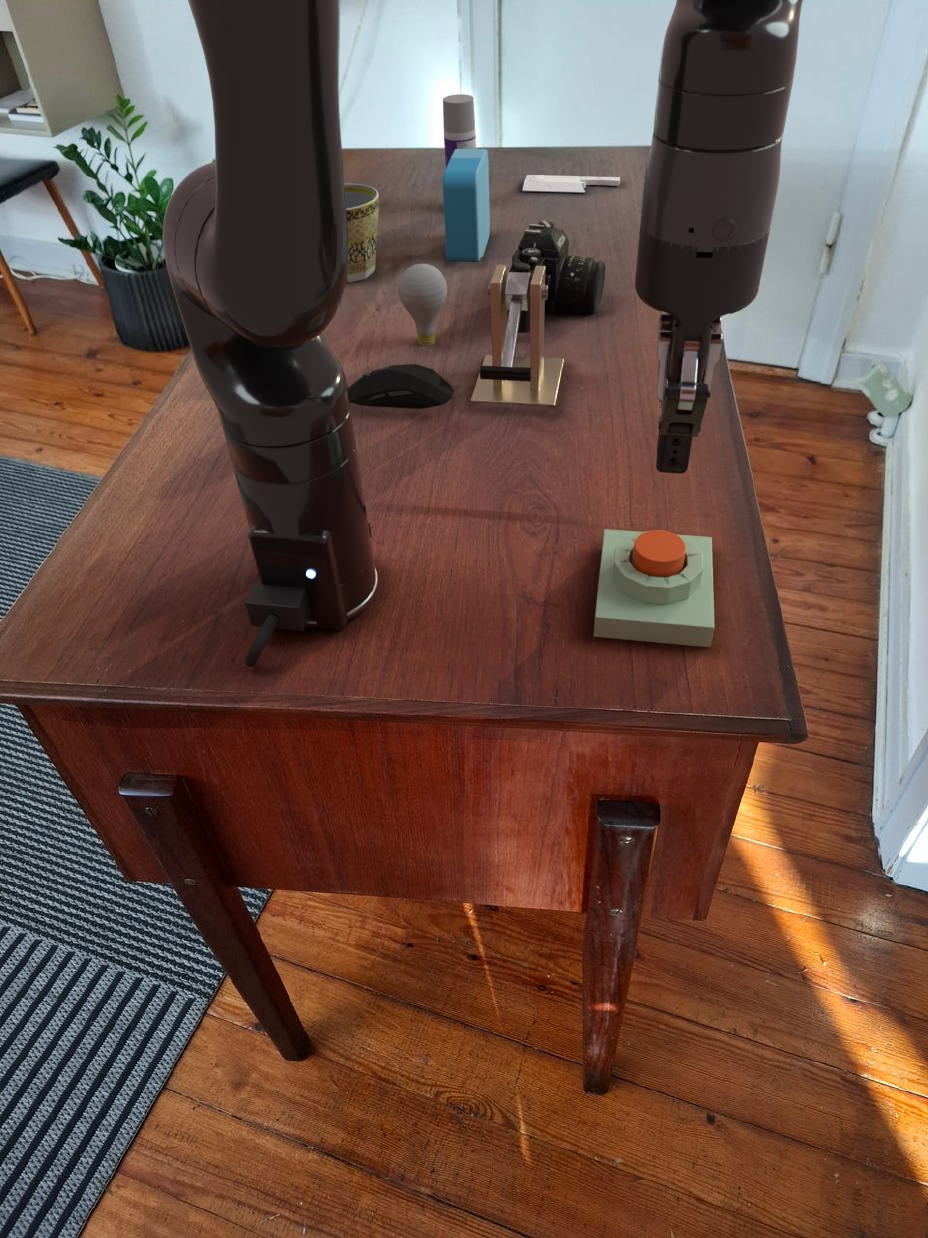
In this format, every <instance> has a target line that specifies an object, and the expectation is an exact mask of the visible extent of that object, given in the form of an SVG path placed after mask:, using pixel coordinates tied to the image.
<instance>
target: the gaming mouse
mask: <svg viewBox="0 0 928 1238" xmlns="http://www.w3.org/2000/svg"><path fill="white" fill-rule="evenodd" d="M348 393H349V400H350V403H352V404H355V405H358V406H367V407H379V408H398V409H399V408H400V409H421V410H422V409H429V408H434V407H439V406H442V405H445V404H446V403H448V401H450V400H452V399H453V397H454V393H455V388H454V387H453V386H452V385H451V384H450V383H449V382H448V381H447V380H446V379H444V377H442V376H441V375H440V374H439V373H437V372H436V371H435V370H434V369H433V368H430V367H427V366H423V365H420V364H418V363H409V364H407V363H405V364H393V365H389V366H386V367H385V366H384V367H382V368H381V367H380V368H378V369H374V370H372V371H370V372H364V373H363V374H362V375H361V377H360V378H359V379H357V380H356V381H355V382H354V383H352V384H351V385H350V386H348Z"/></svg>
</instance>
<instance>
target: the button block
mask: <svg viewBox="0 0 928 1238" xmlns="http://www.w3.org/2000/svg"><path fill="white" fill-rule="evenodd" d="M647 531H648V530H646V531H635V530H622V529H621V530H620V529H609V528H608V529H606V528H605V529H604V530H603V538H602V547H601V555H600V556H601V558H600V564H599V565H600V567H599V576H598V586H597V593H596V604H595V613H594V622H593V623H594V624H593V637H595V638H602V639H603V638H604V639H605V638H606V639H613V640H614V639H616V640H626V641H638V642H646V643H647V642H649V643H657V644H669V645H681V646H690V647H700V648H702V647H703V648H711V645H712V641H713V636H714V631H715V603H714V598H715V597H714V567H713V538H712V536H702V535H687V534H677V535H678V536H679V537H681V538H682V539H683V541H684V543H685V545H686V552H685V558H684V564H683V568H682V570H681V571H680V572H679V573H678V574H676V575H674V576H670V577H667V578H664V577H651V576H648V575H646V574H643V573H641V572H639V571H638V570H637V569H636V568H635V567H634V565H633V560H632V559H633V550H634V542H635V540H636V538H637V537H638V536H639V535H640V534H642V533H644V532H647Z"/></svg>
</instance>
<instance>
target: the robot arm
mask: <svg viewBox="0 0 928 1238" xmlns="http://www.w3.org/2000/svg"><path fill="white" fill-rule="evenodd" d="M187 1H188V5H189V7H190V11H191V14H192V17H193V21H194V23H195V27H196V31H197V35H198V38H199V41H200V44H201V48H202V51H203V56H204V60H205V61H204V62H205V65H206V70H207V75H208V79H209V87H210V93H211V99H212V112H213V124H214V148H215V149H214V157H215V158H214V159H215V161H213V162H210V163H207V164H204V165H202V166H200V167H197V168H196V169H194V170H193V171H191V172H190V173H188V175H186V176H185V177H184V178H183V179H182V180H181V181H180V183H178V185H177V186H176V188H175V189H174V191H173V192H172V194H171V196H170V198H169V201H168V203H167V205H166V208H165V212H164V216H163V217H164V218H163V222H162V247H163V254H164V255H163V256H164V261H165V265H166V270H167V273H168V274H167V275H168V279H169V281H170V285H171V288H172V292H173V295H174V298H175V301H176V304H177V309H178V311H179V315H180V318H181V321H182V325H183V327H184V332H185V334H186V337H187V341H188V343H189V346H190V349H191V354H192V356H193V359H194V363H195V365H196V368H197V371H198V374H199V376H200V378H201V380H202V382H203V384H204V386H205V388H206V390H207V392H208V394H209V395H210V397H211V399H212V401H213V403H214V405H215V407H216V410H217V414H218V417H219V421H220V424H221V428H222V430H223V434H224V438H225V442H226V445H227V449H228V453H229V456H230V461H231V464H232V468H233V472H234V477H235V480H236V483H237V487H238V491H239V495H240V498H241V502H242V506H243V509H244V513H245V517H246V520H247V524H248V528H249V532H248V539H249V543H250V547H251V551H252V554H253V558H254V562H255V566H256V570H257V573H258V576H259V580H260V581H255V582H254V584H253V586H252V588H251V590H250V592H249V594H248V596H247V598H246V600H245V602H244V604H245V608H246V611H247V614H248V618H249V623H250V625H251V627H256V628H257V627H258V628H260V629H259V631H258V632H257V634H256V636H255V638H254V640H253V642H252V644H251V646H250V647H249V649H248V652H247V654H246V656H245V658H244V664H245V665H246V666H247V667H249V668H253V667H256V665H257V663H258V662H259V659H260V657H261V655H262V653H263V651H264V649H265V647H266V645H267V643H268V641H269V640H270V638H271V636H272V635H273V632H274V631H275V629H278V630H288V631H297V632H298V631H300V632H303V631H304V630H305V628H313V629H325V630H336V631H343V630H345V629H346V625H347V623H348V622H349V621H350V620H352V619H354V618H356V617H357V616H359V615H361V614H362V613H363V612H364V611H365V610H366V609H368V608H369V607H370V605H371V604H372V603H373V601H374V600H375V598H376V596H377V594H378V590H379V578H378V571H377V568H376V565H375V559H374V553H373V546H372V539H373V536H372V535H373V534H372V529H371V523H370V522H369V520H368V515H367V514H368V513H367V507H366V502H365V495H364V488H363V482H362V473H361V469H360V461H359V456H358V447H357V442H356V441H357V440H356V434H355V428H354V421H353V414H352V407H351V402H350V400H349V393H348V388H349V386H348V382H347V377H346V374H345V371H344V368H343V366H342V364H341V363H340V361H339V360H338V358H337V357H336V355H335V353H334V352H333V350H332V349H331V347H330V346H329V343H327V341H326V339H325V336H324V334H323V332H324V331H325V330H326V329H327V328H328V326H329V325H330V323H331V322H332V321H333V319H334V317H335V315H336V314H337V311H338V309H339V307H340V305H341V302H342V299H343V296H344V293H345V289H346V286H347V282H346V280H347V274H348V259H349V253H348V228H347V213H346V199H345V185H344V184H345V172H344V159H343V146H342V144H343V143H342V131H341V130H342V129H341V112H340V47H341V45H340V44H341V0H187ZM803 1H804V0H676V2H675V5H674V9H673V12H672V13H671V17H670V19H669V22H668V25H667V27H666V30H665V35H664V39H663V43H662V48H661V54H660V60H659V66H658V67H659V68H658V74H657V75H658V77H657V78H658V79H657V87H656V99H655V107H654V108H655V109H654V118H653V128H652V129H653V132H652V138H651V143H650V150H649V153H648V158H647V162H646V167H645V172H644V180H643V189H642V190H643V191H642V201H641V211H640V223H639V234H638V242H637V243H638V244H637V255H636V266H635V267H636V268H635V277H634V289H635V292H636V294H637V296H638V298H639V299H640V300H641V301H642V302H643V303H644V304H645V305H646V306H648V307H650V308H651V309H653V310H656V311H658V312H660V313H659V318H658V319H659V320H658V329H657V346H656V358H657V359H656V360H657V372H656V373H657V374H656V376H657V380H656V391H655V392H656V395H655V396H656V398H657V400H658V403H659V404H660V408H661V411H660V415H658V417H657V419H658V420H657V424H658V427H657V428H658V436H657V442H656V443H657V446H656V462H655V464H656V465H655V468H656V470H657V472H659V473H663V474H664V473H665V474H678V475H679V474H680V475H681V474H684V473H686V472H687V471H688V468H689V462H690V456H691V451H692V444H693V438H698V436H699V432H701V431H702V430H701V428H702V422H703V419H704V418H703V417H704V415H705V411H706V408H707V404H708V401H709V399H710V398H711V391H712V389H711V388H712V383H713V381H712V380H713V376H714V371H715V370H714V369H715V365H716V364H717V363H718V362H719V361H720V358H721V351H722V346H723V337H724V336H723V335H724V334H723V332H721V327H722V317H723V316H726V315H733V314H735V313H737V312H740V311H742V310H744V309H745V308H747V307H748V306H749V305H751V304H752V303H753V302H754V301H755V299H756V297H757V296H758V292H759V289H760V285H761V279H762V274H763V269H764V264H765V259H766V252H767V247H768V241H769V237H770V231H771V226H772V221H773V216H774V210H775V205H776V199H777V194H778V189H779V188H778V187H779V182H780V177H781V176H780V175H781V161H782V160H781V157H782V144H783V137H784V133H785V127H786V122H787V117H788V110H789V106H790V105H789V104H790V99H791V94H792V89H793V83H794V78H795V72H796V71H795V70H796V65H797V58H798V57H797V56H798V47H799V38H800V37H799V36H800V24H801V23H800V21H801V12H802V6H803Z"/></svg>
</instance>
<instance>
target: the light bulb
mask: <svg viewBox="0 0 928 1238" xmlns="http://www.w3.org/2000/svg"><path fill="white" fill-rule="evenodd" d="M447 293H448V288H447V282H446V279H445V277H444V275H443V273H442V272H441V271H440V270H439V268H437V267H435V266H434V265H432V264H428V263H416V264H413V265H411V266H410V267H408V268H407V269H406V270H405V271H404V272H403V273H402V275H401V276H400V279H399V283H398V297H399V299H400V302H401V304H402V306H403V307H404V308H405V310H406V311H407V312H408V314H409V315H410V317H411V318H412V319H413V321H414V324H415V332H416V339H417V344H419V345H420V346H431V345H434V344H435V343H436V335H435V334H436V331H437V330H436V321H437V318H438V316H439V314H440V311H441V310H442V308H443V306H444V305H445V301H446V299H447Z"/></svg>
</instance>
